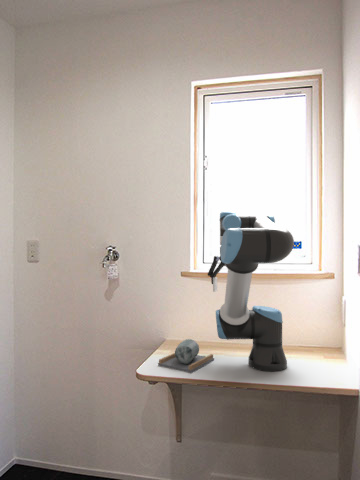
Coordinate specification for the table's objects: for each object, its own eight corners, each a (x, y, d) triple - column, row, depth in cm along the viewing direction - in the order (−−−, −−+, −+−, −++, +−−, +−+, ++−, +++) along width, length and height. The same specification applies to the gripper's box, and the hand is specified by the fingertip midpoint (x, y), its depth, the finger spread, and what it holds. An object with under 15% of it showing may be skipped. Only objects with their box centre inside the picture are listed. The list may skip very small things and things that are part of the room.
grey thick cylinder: (195, 359, 147) (186, 334, 151) (174, 368, 150) (166, 343, 154) (207, 358, 159) (199, 335, 163) (188, 366, 162) (180, 344, 166)
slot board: (214, 360, 160) (214, 354, 160) (192, 372, 144) (192, 366, 144) (182, 354, 168) (182, 348, 168) (158, 365, 153) (158, 359, 153)
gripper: (257, 245, 170) (257, 293, 170) (208, 245, 184) (208, 289, 184) (250, 245, 164) (250, 295, 164) (200, 245, 177) (200, 291, 177)
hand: (228, 292), depth 174 cm, fingers open, 13 cm apart
